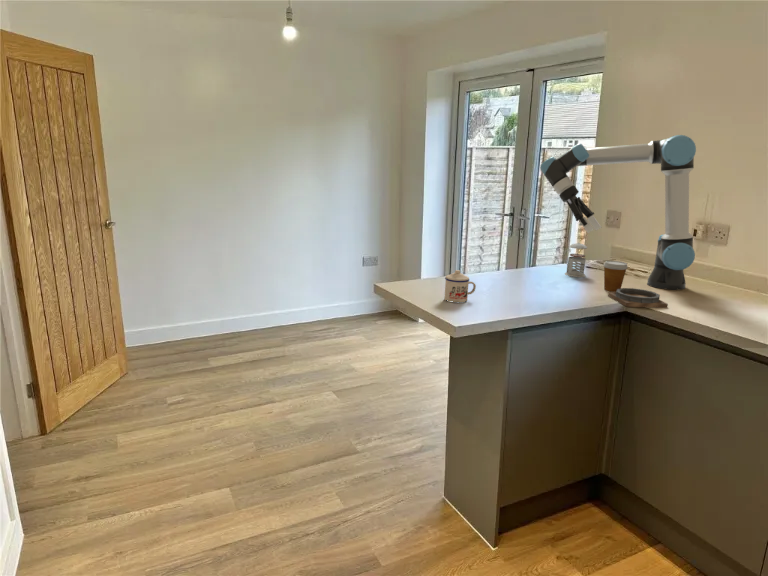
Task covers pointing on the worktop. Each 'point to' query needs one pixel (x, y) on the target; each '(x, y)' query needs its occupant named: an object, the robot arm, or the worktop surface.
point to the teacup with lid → (457, 287)
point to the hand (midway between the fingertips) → (595, 230)
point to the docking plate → (634, 304)
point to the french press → (576, 261)
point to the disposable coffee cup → (614, 275)
